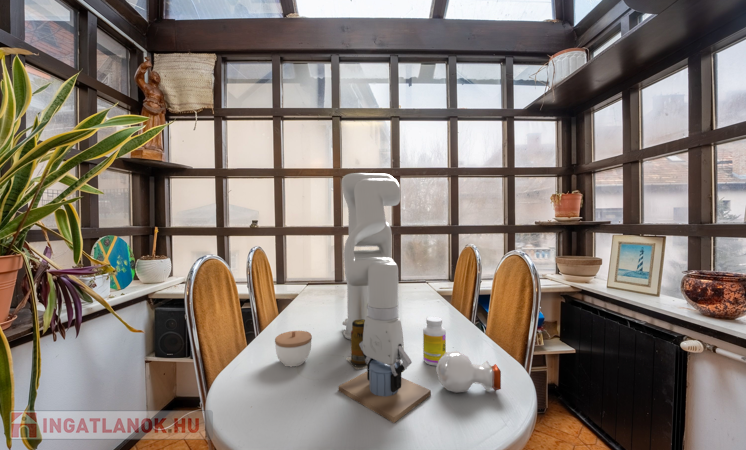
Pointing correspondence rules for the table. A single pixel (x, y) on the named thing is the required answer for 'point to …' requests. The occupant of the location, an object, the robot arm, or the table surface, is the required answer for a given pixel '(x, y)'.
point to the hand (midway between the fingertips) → (383, 383)
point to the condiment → (357, 345)
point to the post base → (387, 405)
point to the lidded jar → (293, 347)
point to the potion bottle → (466, 373)
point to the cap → (380, 378)
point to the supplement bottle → (433, 341)
